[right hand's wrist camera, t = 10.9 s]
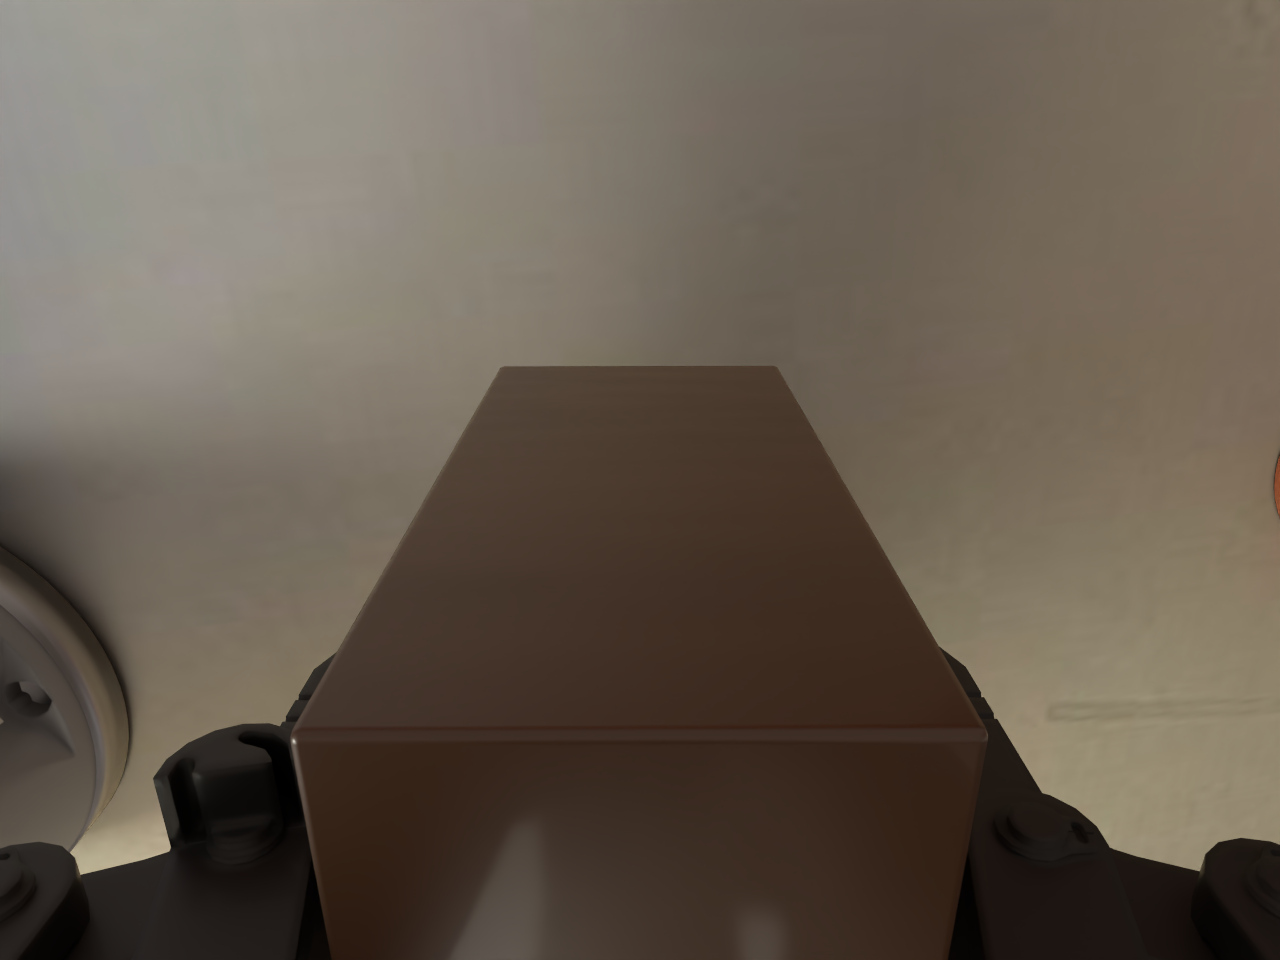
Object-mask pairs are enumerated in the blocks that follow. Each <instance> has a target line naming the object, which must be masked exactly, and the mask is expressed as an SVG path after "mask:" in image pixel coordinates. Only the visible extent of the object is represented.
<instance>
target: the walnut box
mask: <svg viewBox="0 0 1280 960" xmlns="http://www.w3.org/2000/svg"><path fill="white" fill-rule="evenodd" d="M290 741H291V748H292V753H293V759H294V764H295V769H296V774H297V780H298V785H299V790H300V796H301V801H302V806H303V812H304V817H305V822H306V827H307V833H308V838H309V843H310V849H311V854H312V859H313V864H314V870H315V875H316V880H317V886H318V891H319V896H320V902H321V907H322V912H323V917H324V923H325V928H326V933H327V939H328V944H329V949H330V955H331V960H948V956H949V950H950V945H951V939H952V934H953V928H954V923H955V917H956V912H957V907H958V901H959V896H960V890H961V885H962V879H963V874H964V868H965V863H966V857H967V852H968V846H969V841H970V835H971V830H972V824H973V819H974V814H975V808H976V803H977V797H978V792H979V786H980V781H981V775H982V770H983V764H984V759H985V753H986V748H987V742H988V734H987V730H986V727H985V726H984V724H983V722H982V720H981V719H980V717H979V715H978V713H977V712H976V710H975V708H974V707H973V705H972V703H971V701H970V700H969V698H968V696H967V694H966V693H965V691H964V689H963V688H962V686H961V684H960V682H959V681H958V679H957V677H956V675H955V674H954V672H953V670H952V669H951V667H950V665H949V663H948V662H947V660H946V658H945V656H944V655H943V653H942V651H941V650H940V648H939V646H938V644H937V643H936V641H935V639H934V637H933V636H932V634H931V632H930V631H929V629H928V627H927V625H926V624H925V622H924V620H923V618H922V617H921V615H920V613H919V612H918V610H917V608H916V606H915V605H914V603H913V601H912V599H911V598H910V596H909V594H908V593H907V591H906V589H905V587H904V586H903V584H902V582H901V580H900V579H899V577H898V575H897V574H896V572H895V570H894V568H893V567H892V565H891V563H890V561H889V560H888V558H887V556H886V555H885V553H884V551H883V549H882V548H881V546H880V544H879V542H878V541H877V539H876V537H875V536H874V534H873V532H872V530H871V529H870V527H869V525H868V523H867V522H866V520H865V518H864V517H863V515H862V513H861V511H860V510H859V508H858V506H857V504H856V503H855V501H854V499H853V498H852V496H851V494H850V492H849V491H848V489H847V487H846V485H845V484H844V482H843V480H842V479H841V477H840V475H839V473H838V472H837V470H836V468H835V466H834V465H833V463H832V461H831V460H830V458H829V456H828V454H827V453H826V451H825V449H824V447H823V446H822V444H821V442H820V441H819V439H818V437H817V435H816V434H815V432H814V430H813V428H812V427H811V425H810V423H809V422H808V420H807V418H806V416H805V415H804V413H803V411H802V409H801V408H800V406H799V404H798V403H797V401H796V399H795V397H794V396H793V394H792V392H791V390H790V389H789V387H788V385H787V384H786V382H785V380H784V378H783V377H782V375H781V373H780V371H779V370H778V368H777V367H775V366H543V367H502V368H500V370H499V371H498V373H497V375H496V377H495V378H494V380H493V382H492V384H491V385H490V387H489V389H488V391H487V392H486V394H485V396H484V397H483V399H482V401H481V403H480V404H479V406H478V408H477V410H476V411H475V413H474V415H473V417H472V418H471V420H470V422H469V424H468V425H467V427H466V429H465V431H464V432H463V434H462V436H461V437H460V439H459V441H458V443H457V444H456V446H455V448H454V450H453V451H452V453H451V455H450V457H449V458H448V460H447V462H446V464H445V465H444V467H443V469H442V470H441V472H440V474H439V476H438V477H437V479H436V481H435V483H434V484H433V486H432V488H431V490H430V491H429V493H428V495H427V497H426V498H425V500H424V502H423V504H422V505H421V507H420V509H419V510H418V512H417V514H416V516H415V517H414V519H413V521H412V523H411V524H410V526H409V528H408V530H407V531H406V533H405V535H404V537H403V538H402V540H401V542H400V543H399V545H398V547H397V549H396V550H395V552H394V554H393V556H392V557H391V559H390V561H389V563H388V564H387V566H386V568H385V570H384V571H383V573H382V575H381V577H380V578H379V580H378V582H377V583H376V585H375V587H374V589H373V590H372V592H371V594H370V596H369V597H368V599H367V601H366V603H365V604H364V606H363V608H362V610H361V611H360V613H359V615H358V616H357V618H356V620H355V622H354V623H353V625H352V627H351V629H350V630H349V632H348V634H347V636H346V637H345V639H344V641H343V643H342V644H341V646H340V648H339V650H338V651H337V653H336V655H335V656H334V658H333V660H332V662H331V663H330V665H329V667H328V669H327V670H326V672H325V674H324V676H323V677H322V679H321V681H320V683H319V684H318V686H317V688H316V690H315V691H314V693H313V695H312V696H311V698H310V700H309V702H308V703H307V705H306V707H305V709H304V710H303V712H302V714H301V716H300V717H299V719H298V721H297V723H296V724H295V726H294V728H293V730H292V733H291V736H290Z"/></svg>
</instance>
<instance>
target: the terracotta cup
mask: <svg viewBox="0 0 1280 960" xmlns="http://www.w3.org/2000/svg"><path fill="white" fill-rule="evenodd" d="M1274 491H1275V502H1276V506H1277V510H1278V514H1279V516H1280V456H1279V459H1278V463H1277V468H1276V472H1275V483H1274Z"/></svg>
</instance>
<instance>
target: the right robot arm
mask: <svg viewBox="0 0 1280 960" xmlns="http://www.w3.org/2000/svg"><path fill="white" fill-rule="evenodd" d="M939 648H940V647H939ZM940 650H941V651H942V653H943V655H944V656H945V658H946V660H947V662H948V663H949V665H950V667H951V669H952V670H953V672H954V674H955V675H956V677H957V679H958V681H959V682H960V684H961V686H962V688H963V689H964V691H965V693H966V694H967V696H968V698H969V700H970V701H971V703H972V705H973V707H974V708H975V710H976V712H977V713H978V715H979V717H980V719H981V720H982V722H983V724H984V726H985V727H986V730H987V734H988V742H987V748H986V753H985V759H984V764H983V770H982V775H981V781H980V786H979V792H978V797H977V803H976V808H975V814H974V819H973V824H972V830H971V835H970V841H969V846H968V852H967V857H966V863H965V868H964V874H963V879H962V885H961V890H960V896H959V901H958V907H957V912H956V917H955V923H954V928H953V934H952V939H951V945H950V950H949V956H948V960H1280V845H1279V844H1276V843H1273V842H1269V841H1261V840H1253V839H1245V838H1238V839H1233V840H1228V841H1223V842H1218V843H1217V844H1216V845H1215V846H1214V847H1213V848H1212V849H1211V850H1210V851H1208V852H1207V853H1206V854H1205V858H1204V861H1203V864H1202V867H1201V870H1200V872H1199V871H1195V870H1191V869H1187V868H1183V867H1178V866H1174V865H1170V864H1166V863H1161V862H1157V861H1153V860H1149V859H1145V858H1140V857H1136V856H1133V855H1130V854H1127V853H1124V852H1120V851H1117V850H1114V849H1112V848H1110V847H1109V846H1108V844H1107V842H1106V841H1105V839H1104V837H1103V836H1102V834H1101V833H1100V831H1099V829H1098V828H1097V826H1096V825H1094V824H1093V823H1092V822H1091V821H1090V820H1089V819H1087V818H1086V817H1085V816H1084V815H1083V814H1082V813H1080V812H1079V811H1078V810H1077V809H1076V808H1074V807H1072V806H1070V805H1068V804H1066V803H1064V802H1062V801H1060V800H1058V799H1056V798H1054V797H1052V796H1050V795H1047V794H1043V793H1042V792H1041V791H1040V789H1039V787H1038V786H1037V784H1036V782H1035V781H1034V779H1033V777H1032V776H1031V774H1030V772H1029V771H1028V769H1027V767H1026V766H1025V764H1024V763H1023V761H1022V759H1021V758H1020V756H1019V754H1018V753H1017V751H1016V749H1015V748H1014V746H1013V744H1012V743H1011V741H1010V739H1009V738H1008V736H1007V734H1006V733H1005V731H1004V730H1003V728H1002V726H1001V725H1000V723H999V721H998V720H997V719H994V713H993V711H992V710H991V708H990V706H989V705H988V703H987V701H986V700H985V698H984V697H981V692H980V690H979V688H978V687H977V685H976V683H975V682H974V680H973V678H972V677H971V675H970V673H969V672H968V670H967V668H966V667H965V666H964V665H962V664H961V663H960V662H959V661H957V660H956V659H955V658H953V657H952V656H951V655H949V654H948V653H947V652H946V651H944V650H943V649H942V648H940ZM336 653H337V652H336ZM336 653H335V654H334V655H332V656H331V657H330V658H329V659H327V660H326V661H325V662H323V663H322V664H321V665H319V666H318V667H317V668H316V669H314V671H313V672H312V674H311V676H310V677H309V679H308V681H307V682H306V684H305V686H304V687H303V689H302V691H301V692H300V694H299V700H296V701H295V702H294V704H293V706H292V707H291V709H290V711H289V712H288V714H287V716H286V722H282V724H281V726H276V725H273V724H241V725H237V726H233V727H228V728H224V729H220V730H216V731H213V732H211V733H209V734H207V735H205V736H203V737H200V738H198V739H196V740H194V741H192V742H189V743H188V744H186V745H185V746H184V747H182V748H181V749H180V750H178V751H177V752H176V753H174V754H173V755H172V756H171V757H169V758H168V759H167V760H166V761H165V762H164V764H163V765H162V767H161V768H160V769H159V771H158V772H157V774H156V775H155V776H154V778H153V780H154V784H155V788H156V792H157V795H158V799H159V803H160V807H161V811H162V814H163V818H164V822H165V826H166V830H167V833H168V837H169V841H170V845H171V849H170V851H169V852H167V853H164V854H161V855H158V856H154V857H151V858H148V859H145V860H141V861H137V862H133V863H129V864H125V865H120V866H116V867H112V868H108V869H104V870H99V871H95V872H91V873H87V874H83V875H80V872H79V869H78V866H77V863H76V860H75V857H73V856H72V855H71V854H70V853H69V852H70V851H71V850H72V849H73V848H74V847H75V845H76V844H77V843H78V842H79V840H80V839H81V838H82V837H83V835H84V834H85V833H86V831H87V830H88V829H89V828H90V826H91V825H92V824H93V823H94V821H95V820H96V819H97V818H98V816H99V815H100V814H101V813H102V811H103V810H104V808H105V807H106V806H107V804H108V803H109V801H110V800H111V799H112V797H113V795H114V793H115V791H116V789H117V787H118V785H119V783H120V780H121V777H122V774H123V772H124V768H125V763H126V759H127V753H128V741H129V733H128V718H127V712H126V707H125V702H124V698H123V695H122V691H121V688H120V684H119V682H118V679H117V677H116V675H115V672H114V670H113V667H112V665H111V663H110V661H109V659H108V657H107V656H106V654H105V652H104V650H103V648H102V646H101V645H100V643H99V642H98V640H97V639H96V637H95V636H94V634H93V633H92V631H91V630H90V628H89V627H88V626H87V624H86V623H85V622H84V620H83V619H82V618H81V617H80V615H79V614H78V613H77V612H76V610H75V609H74V608H73V607H72V606H71V605H70V604H69V603H68V602H67V601H66V600H65V598H64V597H63V596H62V595H61V594H60V593H59V592H58V591H57V590H55V589H54V588H53V587H52V586H51V585H50V584H49V583H48V582H47V581H46V580H45V579H44V578H42V577H41V576H40V575H39V574H37V573H36V572H35V571H34V570H33V569H31V568H30V567H29V566H28V565H26V564H25V563H24V562H22V561H21V560H19V559H18V558H16V557H15V556H14V555H12V554H11V553H9V552H8V551H6V550H5V549H3V548H2V547H0V960H331V955H330V949H329V944H328V939H327V933H326V928H325V923H324V917H323V912H322V907H321V902H320V896H319V891H318V886H317V880H316V875H315V870H314V864H313V859H312V854H311V849H310V843H309V838H308V833H307V827H306V822H305V817H304V812H303V806H302V801H301V796H300V790H299V785H298V780H297V774H296V769H295V764H294V759H293V753H292V748H291V741H290V736H291V733H292V730H293V728H294V726H295V724H296V723H297V721H298V719H299V717H300V716H301V714H302V712H303V710H304V709H305V707H306V705H307V703H308V702H309V700H310V698H311V696H312V695H313V693H314V691H315V690H316V688H317V686H318V684H319V683H320V681H321V679H322V677H323V676H324V674H325V672H326V670H327V669H328V667H329V665H330V663H331V662H332V660H333V658H334V656H335V655H336Z"/></svg>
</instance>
